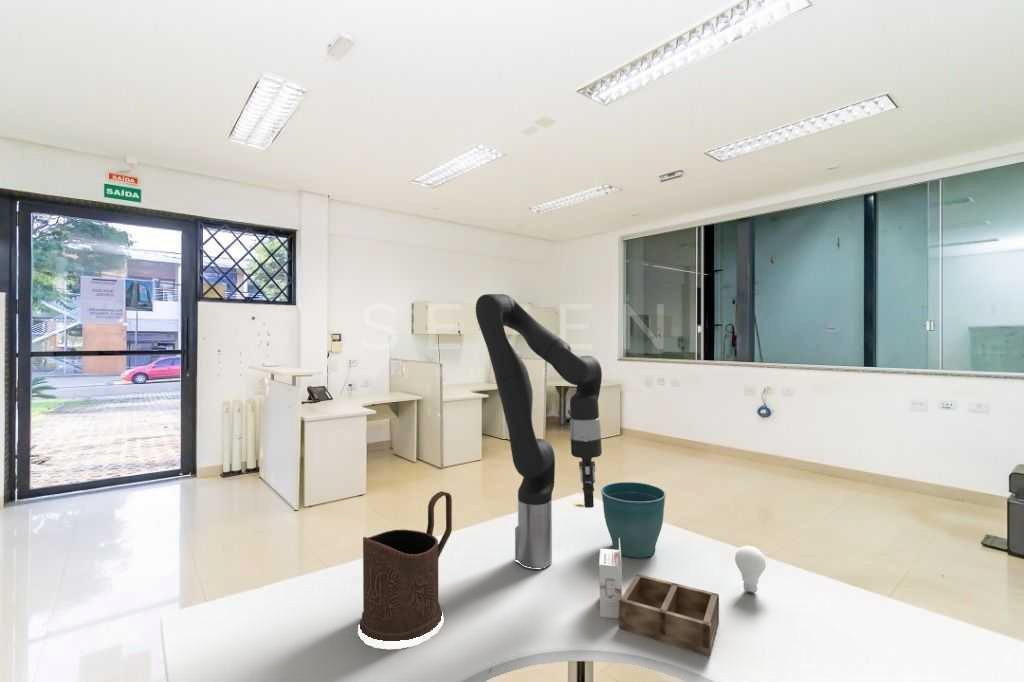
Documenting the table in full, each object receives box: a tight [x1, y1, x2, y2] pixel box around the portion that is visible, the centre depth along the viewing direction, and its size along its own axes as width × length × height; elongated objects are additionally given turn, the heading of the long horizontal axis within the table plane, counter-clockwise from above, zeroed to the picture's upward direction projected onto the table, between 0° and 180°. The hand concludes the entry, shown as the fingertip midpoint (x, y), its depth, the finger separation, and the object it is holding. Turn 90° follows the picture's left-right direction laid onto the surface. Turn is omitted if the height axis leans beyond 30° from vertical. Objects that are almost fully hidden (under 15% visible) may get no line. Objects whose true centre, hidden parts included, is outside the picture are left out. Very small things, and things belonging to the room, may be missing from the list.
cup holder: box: [359, 491, 453, 641], centre depth 105 cm, size 18×24×25 cm
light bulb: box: [734, 545, 767, 594], centre depth 114 cm, size 7×7×11 cm
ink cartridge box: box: [598, 538, 623, 620], centre depth 108 cm, size 9×5×15 cm, turn 168°
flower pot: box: [600, 481, 667, 559], centre depth 138 cm, size 18×18×17 cm
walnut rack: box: [618, 573, 720, 658], centre depth 101 cm, size 18×13×6 cm
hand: (588, 501), depth 118 cm, fingers open, 8 cm apart
